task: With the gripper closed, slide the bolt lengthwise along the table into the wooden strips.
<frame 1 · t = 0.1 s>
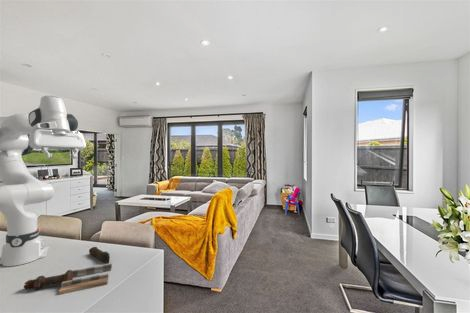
hand: (62, 158, 95), 52 cm above the table, tool tilted 20°, fingers open, 8 cm apart
bolt: (48, 287, 87), on the table
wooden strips: (88, 278, 92), on the table
hand tool: (101, 258, 112), on the table
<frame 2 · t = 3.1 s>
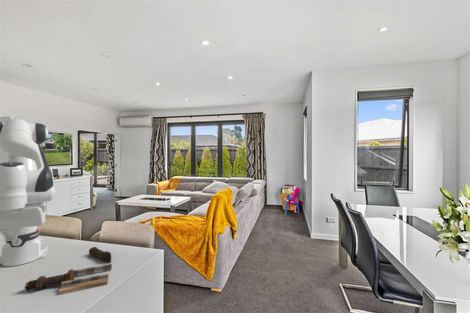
hand: (10, 240, 82), 20 cm above the table, tool pointing down, fingers closed
nothing on the table moved.
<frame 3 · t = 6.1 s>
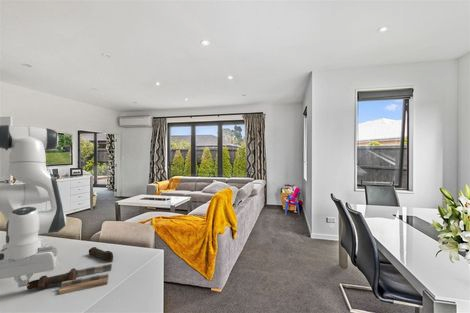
hand: (23, 285, 84), 2 cm above the table, tool pointing down, fingers closed
bolt: (52, 286, 87), on the table, touching gripper
everything else where it was.
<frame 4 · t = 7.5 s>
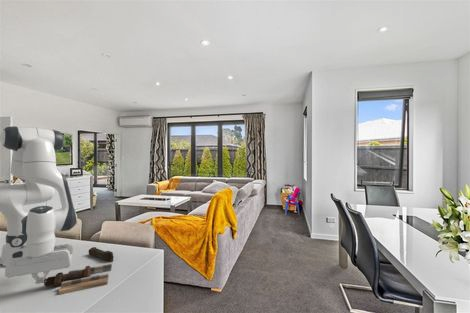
hand: (40, 282, 86), 2 cm above the table, tool pointing down, fingers closed
bolt: (68, 283, 89), on the table, touching gripper
everything else where it was.
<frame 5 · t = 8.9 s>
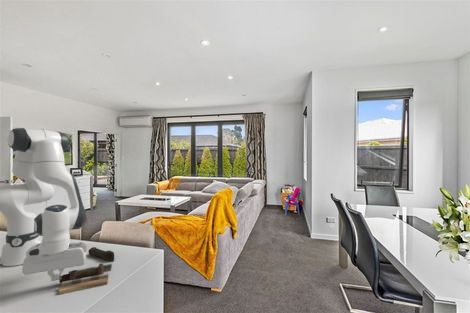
hand: (56, 279, 88), 2 cm above the table, tool pointing down, fingers closed
bolt: (82, 280, 91), on the table, touching gripper
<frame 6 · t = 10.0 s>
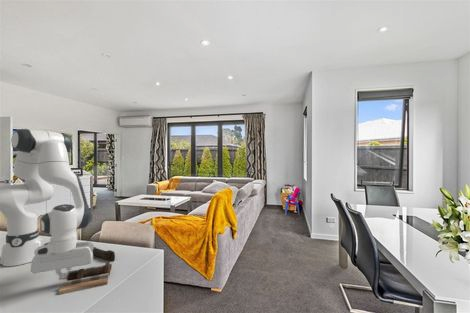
hand: (63, 278, 89), 2 cm above the table, tool pointing down, fingers closed
bolt: (89, 279, 92), on the table, touching gripper
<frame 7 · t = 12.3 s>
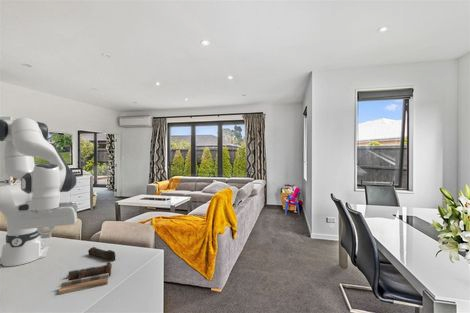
hand: (46, 237, 87), 20 cm above the table, tool pointing down, fingers closed
bolt: (90, 279, 93), on the table
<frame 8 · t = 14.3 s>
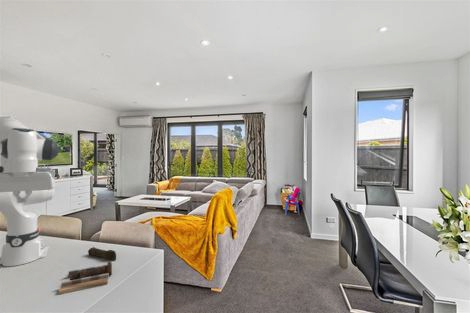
hand: (22, 202, 86), 34 cm above the table, tool pointing down, fingers closed
at the end: bolt 1.2 cm off-centre on the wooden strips, point 0.0 cm above the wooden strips's base; bolt tilted 0°; bolt moved 14.7 cm from its start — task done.
